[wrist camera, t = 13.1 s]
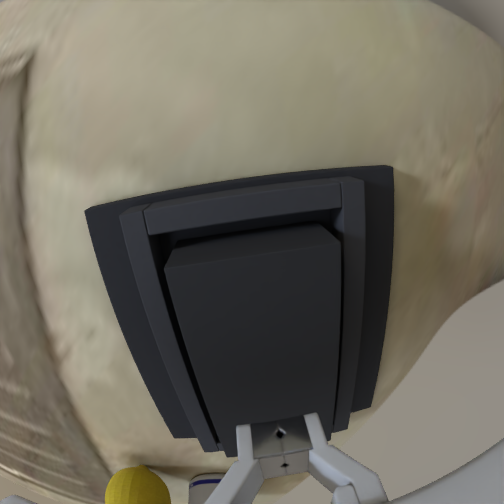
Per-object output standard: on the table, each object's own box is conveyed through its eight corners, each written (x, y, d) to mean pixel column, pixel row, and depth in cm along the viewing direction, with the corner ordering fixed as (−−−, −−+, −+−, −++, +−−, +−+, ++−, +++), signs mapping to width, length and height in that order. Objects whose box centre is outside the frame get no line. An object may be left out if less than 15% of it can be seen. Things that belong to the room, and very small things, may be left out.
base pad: (90, 206, 12) (67, 218, 10) (385, 165, 13) (411, 170, 11) (174, 430, 18) (172, 455, 16) (367, 399, 18) (378, 422, 16)
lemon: (185, 474, 21) (182, 547, 13) (140, 479, 21) (132, 544, 13) (146, 447, 19) (134, 530, 11) (101, 453, 19) (84, 524, 12)
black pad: (176, 240, 12) (163, 268, 10) (316, 220, 13) (341, 241, 10) (225, 420, 17) (226, 457, 14) (318, 405, 17) (330, 440, 14)
